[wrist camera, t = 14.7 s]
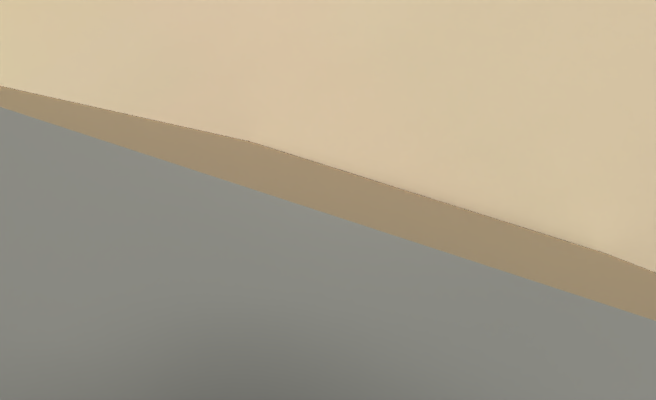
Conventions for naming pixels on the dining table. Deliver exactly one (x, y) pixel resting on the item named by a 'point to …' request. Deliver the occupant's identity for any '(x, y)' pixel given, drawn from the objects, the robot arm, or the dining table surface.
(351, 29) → the dining table surface
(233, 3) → the dining table surface
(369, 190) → the matte grey cube
